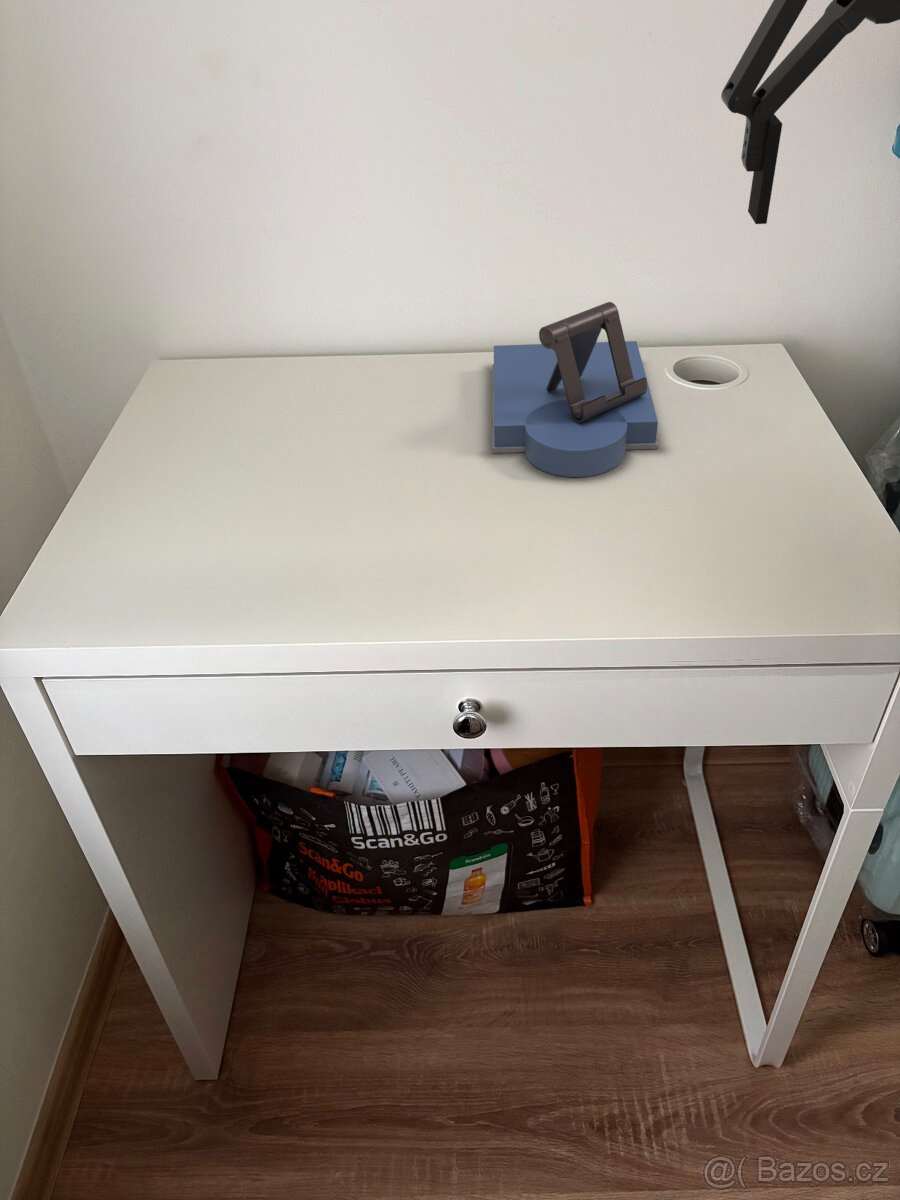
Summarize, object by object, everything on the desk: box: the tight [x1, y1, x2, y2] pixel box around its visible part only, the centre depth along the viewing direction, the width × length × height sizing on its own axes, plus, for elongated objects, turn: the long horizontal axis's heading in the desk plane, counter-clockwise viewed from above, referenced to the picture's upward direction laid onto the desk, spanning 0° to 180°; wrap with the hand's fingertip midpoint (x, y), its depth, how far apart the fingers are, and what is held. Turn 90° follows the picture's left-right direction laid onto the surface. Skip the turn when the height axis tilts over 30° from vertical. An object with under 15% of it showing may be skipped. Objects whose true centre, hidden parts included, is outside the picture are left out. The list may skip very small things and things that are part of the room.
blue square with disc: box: [491, 340, 659, 478], centre depth 101 cm, size 23×16×3 cm
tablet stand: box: [538, 301, 648, 423], centre depth 96 cm, size 9×8×8 cm
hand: (854, 214), depth 68 cm, fingers open, 13 cm apart
